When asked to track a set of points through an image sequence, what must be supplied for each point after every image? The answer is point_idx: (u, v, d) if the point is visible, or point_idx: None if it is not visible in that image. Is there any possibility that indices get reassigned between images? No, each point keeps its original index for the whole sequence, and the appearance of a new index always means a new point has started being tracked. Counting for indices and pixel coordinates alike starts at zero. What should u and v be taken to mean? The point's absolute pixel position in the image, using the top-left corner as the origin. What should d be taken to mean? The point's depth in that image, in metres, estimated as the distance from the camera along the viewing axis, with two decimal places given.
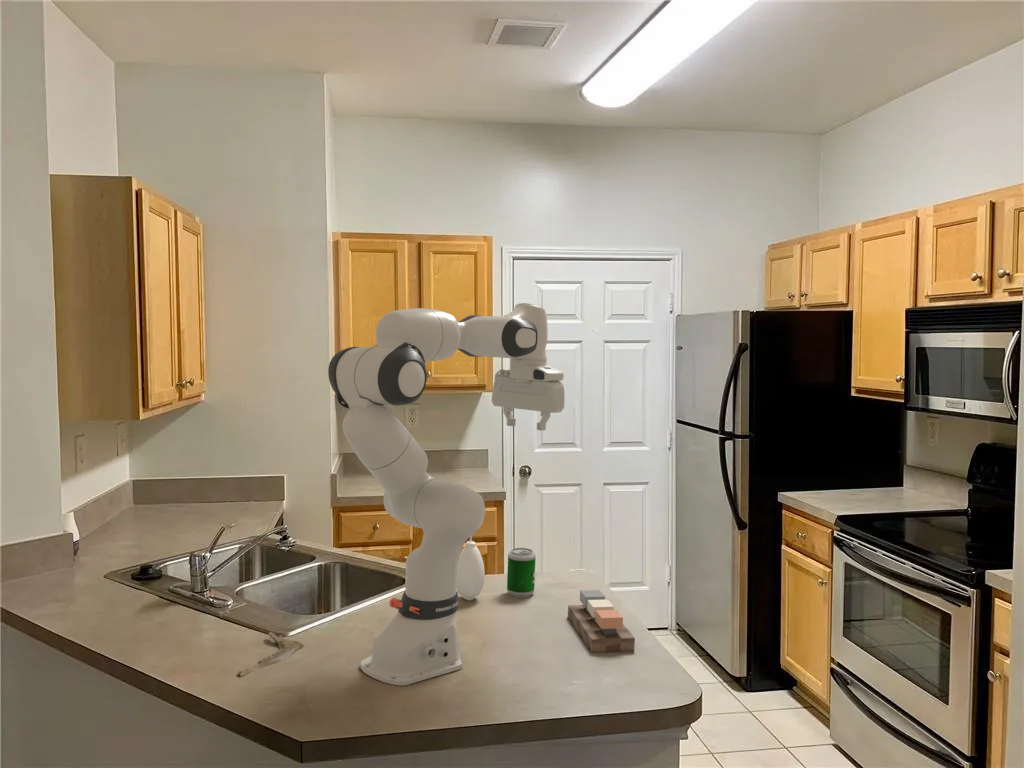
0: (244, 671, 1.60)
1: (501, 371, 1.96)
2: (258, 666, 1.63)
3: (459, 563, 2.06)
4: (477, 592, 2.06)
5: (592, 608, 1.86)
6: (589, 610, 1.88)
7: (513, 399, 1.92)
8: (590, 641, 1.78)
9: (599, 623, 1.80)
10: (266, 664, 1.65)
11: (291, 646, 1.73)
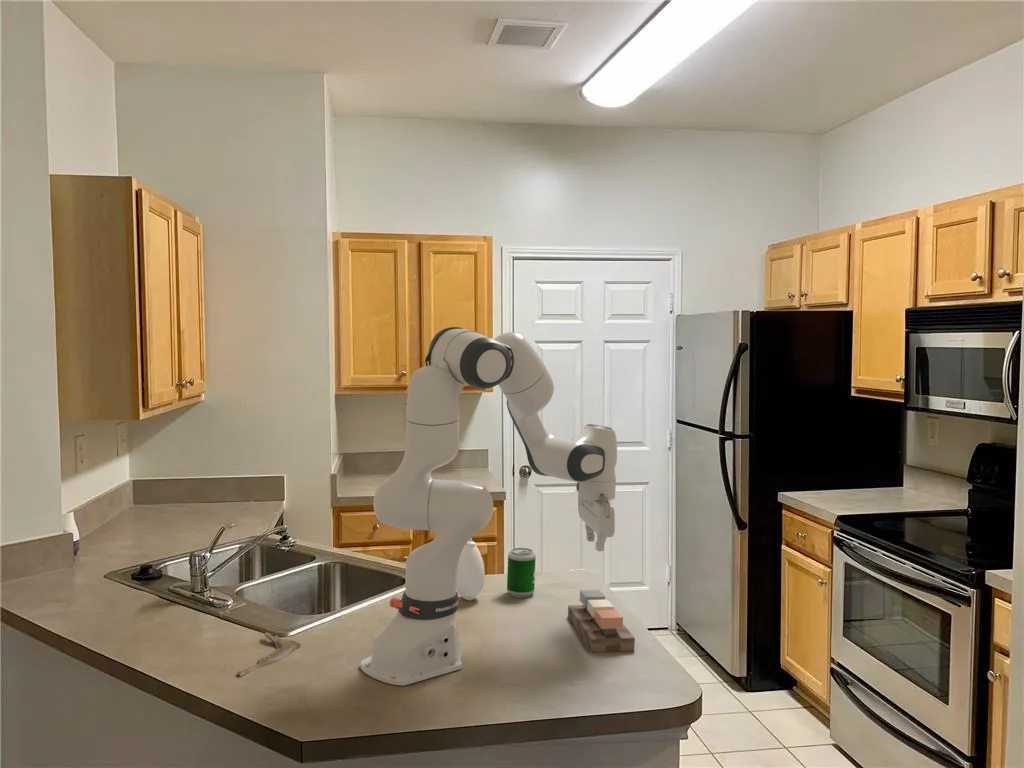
0: (243, 671, 1.60)
1: None
2: (257, 666, 1.63)
3: (459, 563, 2.06)
4: (477, 592, 2.06)
5: (592, 608, 1.86)
6: (589, 610, 1.88)
7: None
8: (590, 641, 1.78)
9: (599, 623, 1.80)
10: (264, 664, 1.65)
11: (288, 646, 1.73)
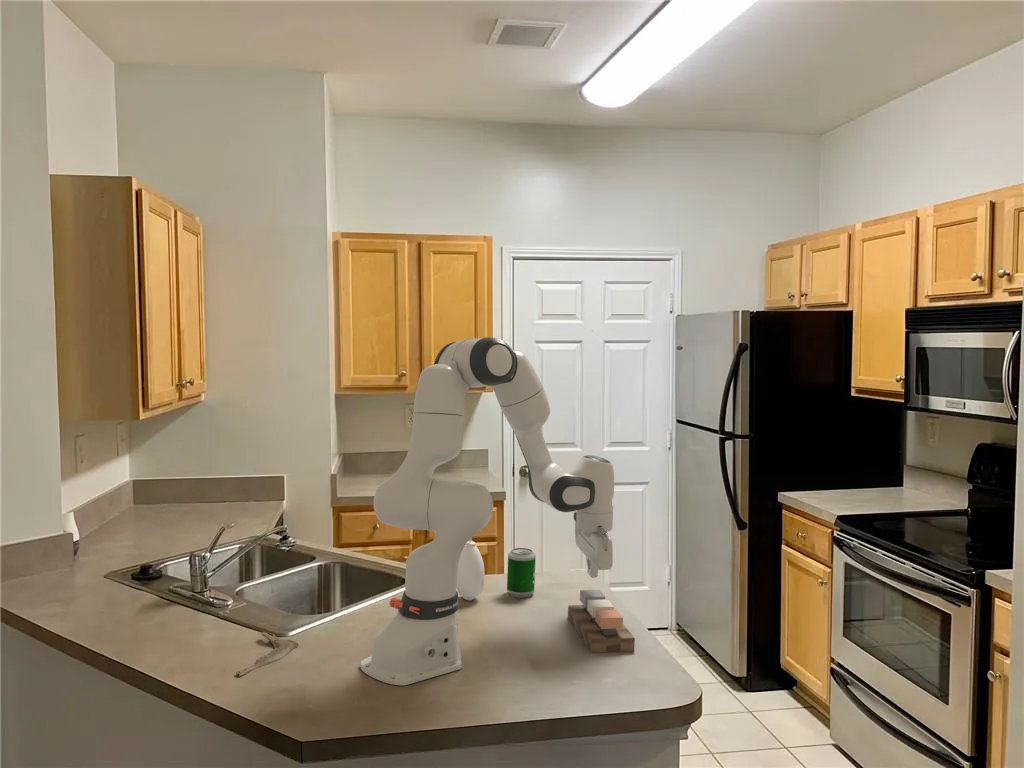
0: (242, 671, 1.60)
1: None
2: (256, 665, 1.63)
3: (459, 563, 2.06)
4: (477, 592, 2.06)
5: (592, 608, 1.86)
6: (589, 610, 1.88)
7: None
8: (590, 641, 1.78)
9: (599, 623, 1.80)
10: (263, 663, 1.65)
11: (286, 645, 1.73)
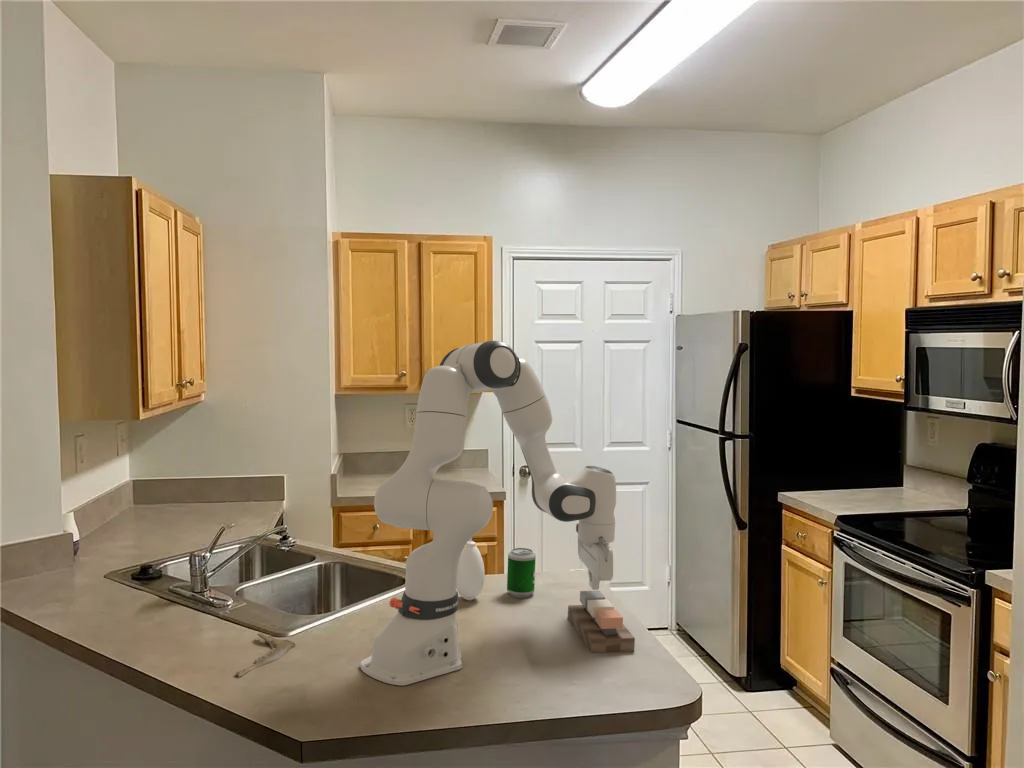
0: (241, 671, 1.60)
1: None
2: (254, 666, 1.63)
3: (459, 563, 2.06)
4: (477, 592, 2.06)
5: (592, 608, 1.86)
6: (589, 610, 1.88)
7: None
8: (590, 641, 1.78)
9: (599, 623, 1.80)
10: (262, 663, 1.65)
11: (283, 645, 1.73)
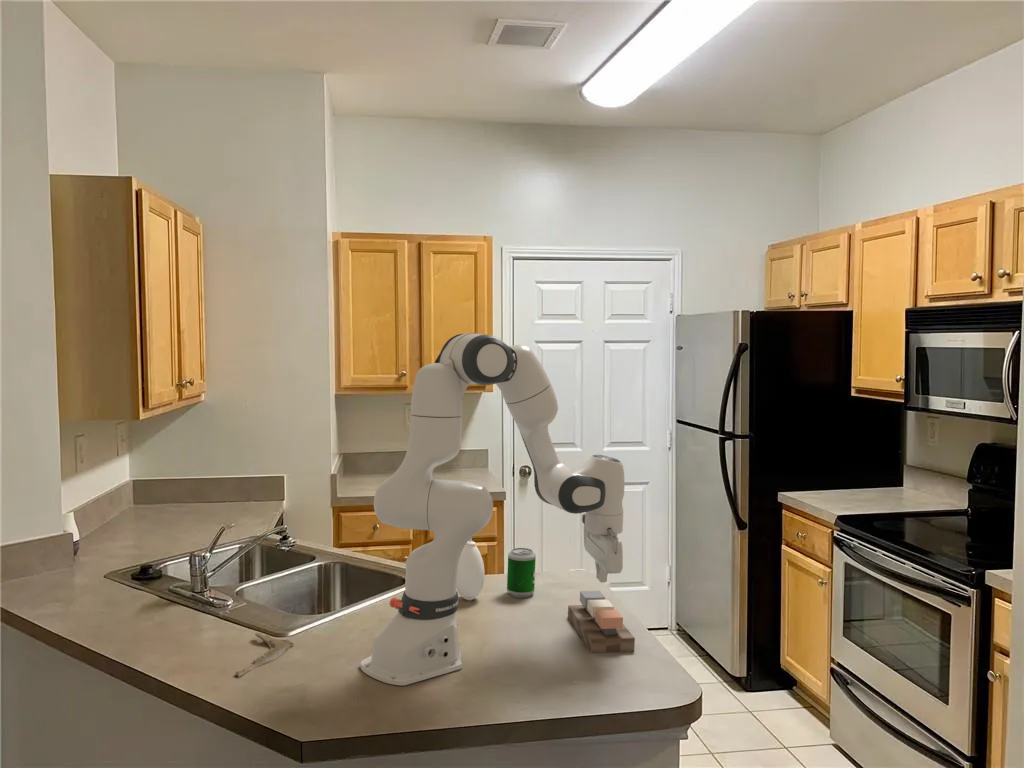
0: (241, 671, 1.60)
1: None
2: (253, 666, 1.63)
3: (459, 563, 2.06)
4: (477, 592, 2.06)
5: (592, 608, 1.86)
6: (589, 610, 1.88)
7: None
8: (590, 641, 1.78)
9: (599, 623, 1.80)
10: (261, 663, 1.65)
11: (282, 645, 1.73)
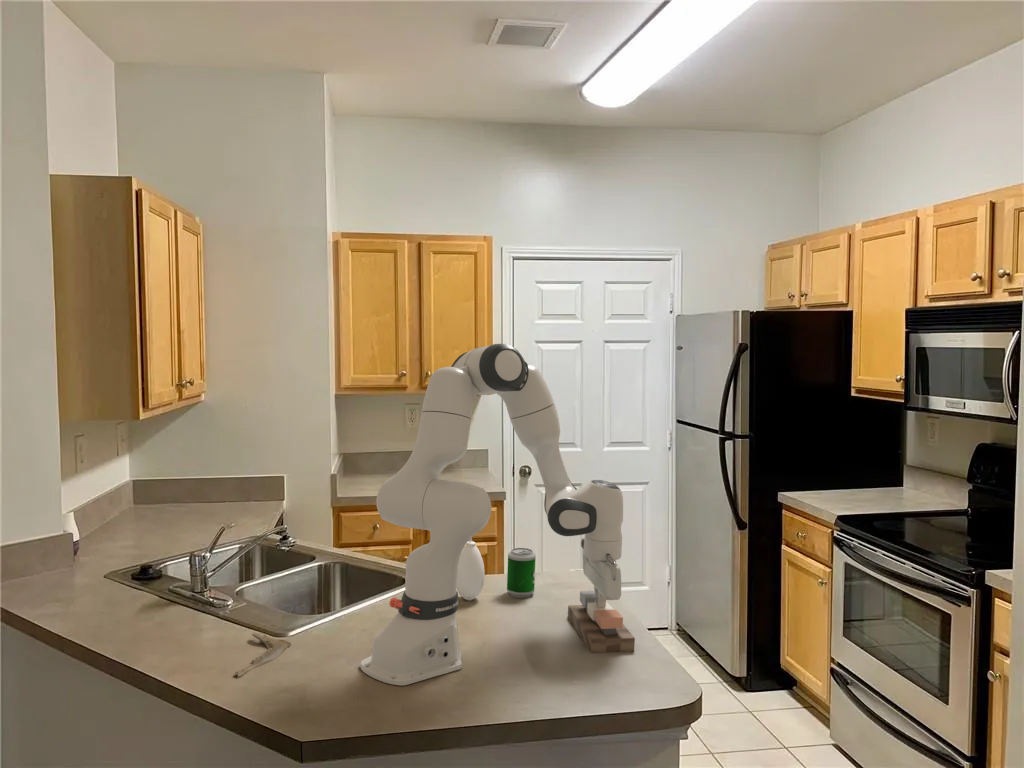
0: (240, 671, 1.60)
1: None
2: (252, 666, 1.63)
3: (459, 563, 2.06)
4: (477, 592, 2.06)
5: (592, 611, 1.86)
6: (589, 613, 1.88)
7: None
8: (590, 641, 1.78)
9: (599, 623, 1.80)
10: (260, 663, 1.65)
11: (279, 645, 1.73)
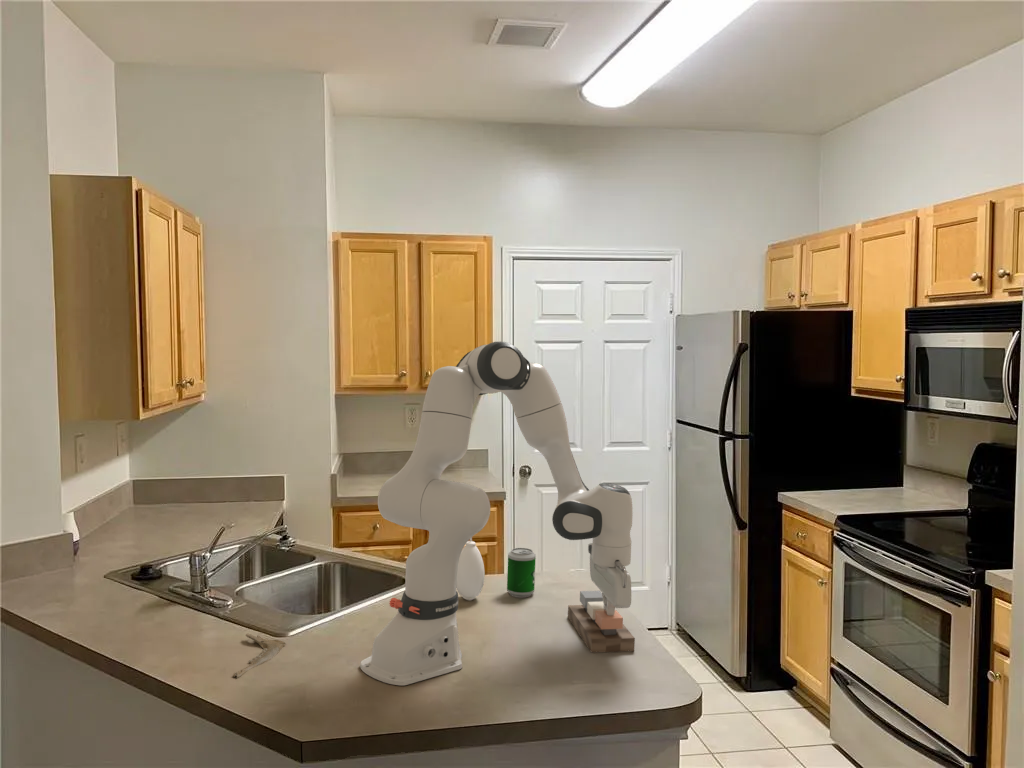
0: (239, 672, 1.60)
1: None
2: (250, 666, 1.63)
3: (459, 563, 2.06)
4: (477, 592, 2.06)
5: (592, 610, 1.86)
6: (589, 612, 1.88)
7: None
8: (590, 641, 1.78)
9: (599, 624, 1.80)
10: (257, 664, 1.64)
11: (275, 645, 1.73)
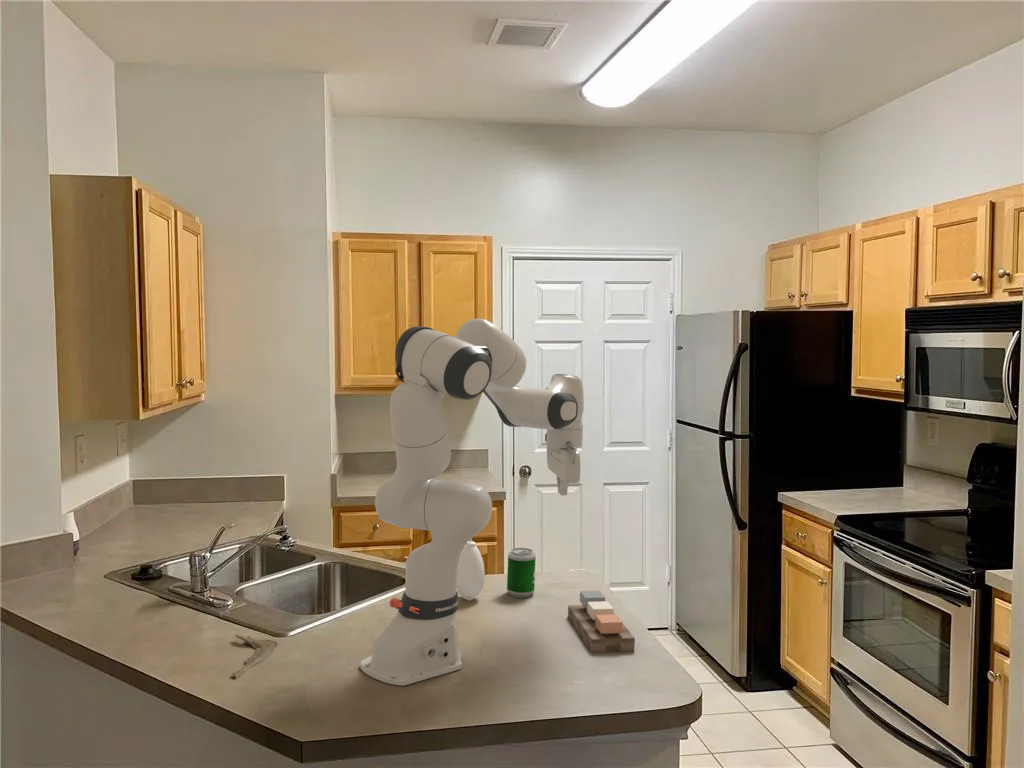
0: (237, 673, 1.59)
1: None
2: (247, 666, 1.63)
3: (459, 563, 2.06)
4: (477, 592, 2.06)
5: (592, 610, 1.86)
6: (589, 612, 1.88)
7: None
8: (590, 641, 1.78)
9: (599, 628, 1.80)
10: (253, 664, 1.64)
11: (267, 644, 1.73)
